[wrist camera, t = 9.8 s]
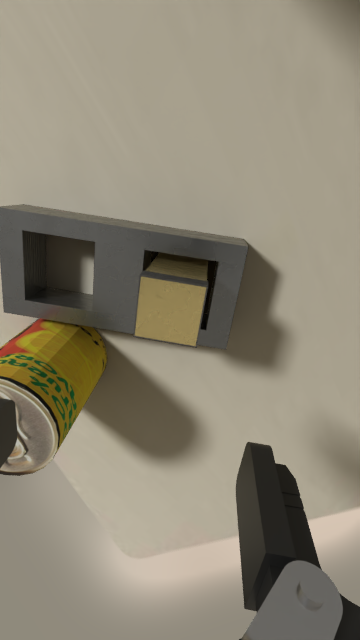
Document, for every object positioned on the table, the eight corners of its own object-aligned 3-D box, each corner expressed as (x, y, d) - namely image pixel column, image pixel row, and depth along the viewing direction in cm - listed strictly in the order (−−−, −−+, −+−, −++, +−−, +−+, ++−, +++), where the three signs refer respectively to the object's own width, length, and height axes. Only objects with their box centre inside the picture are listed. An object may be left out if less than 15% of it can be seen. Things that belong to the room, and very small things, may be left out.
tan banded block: (159, 250, 30) (139, 274, 22) (209, 258, 30) (208, 286, 22) (153, 297, 32) (133, 336, 24) (200, 305, 32) (196, 347, 24)
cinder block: (23, 204, 30) (-4, 206, 26) (243, 239, 29) (248, 246, 25) (27, 298, 33) (3, 312, 29) (224, 331, 33) (226, 349, 29)
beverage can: (79, 300, 33) (11, 357, 22) (122, 373, 35) (81, 457, 24) (8, 331, 35) (-87, 399, 24) (53, 398, 38) (-13, 487, 26)
